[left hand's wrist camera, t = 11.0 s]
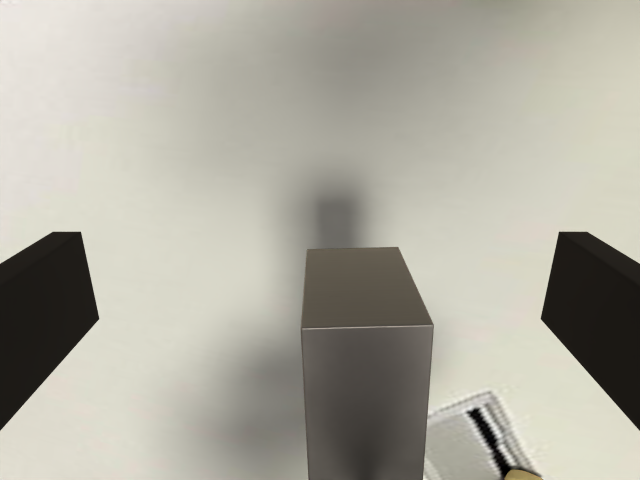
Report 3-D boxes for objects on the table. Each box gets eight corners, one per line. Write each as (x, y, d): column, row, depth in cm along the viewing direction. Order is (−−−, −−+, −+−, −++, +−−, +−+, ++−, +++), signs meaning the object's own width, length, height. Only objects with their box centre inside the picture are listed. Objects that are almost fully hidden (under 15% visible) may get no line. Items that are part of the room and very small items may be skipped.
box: (306, 249, 30) (300, 328, 20) (398, 246, 29) (434, 324, 20) (316, 482, 37) (315, 618, 28) (390, 481, 37) (413, 616, 28)
